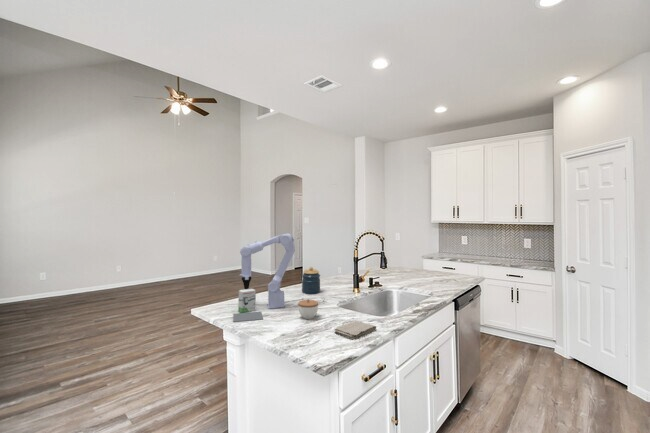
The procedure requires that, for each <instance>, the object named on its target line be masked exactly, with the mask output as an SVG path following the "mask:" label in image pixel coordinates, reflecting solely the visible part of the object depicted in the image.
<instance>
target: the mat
mask: <svg viewBox="0 0 650 433" xmlns="http://www.w3.org/2000/svg"><path fill="white" fill-rule="evenodd" d="M232 315H233V316H232V322H233V323H239V322H249V321H250V322H251V321H261V320H264V316H263V313H262V311H249V312H244V313H241V312H239V313H232Z"/></svg>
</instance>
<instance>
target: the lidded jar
mask: <svg viewBox="0 0 650 433" xmlns="http://www.w3.org/2000/svg"><path fill="white" fill-rule="evenodd" d="M297 305H298V307H297V308H298V312H299V315H300V316H301V317H302V318H303V319H306V320H310V319H311V320H312V319H314V318H315V316H317V314H318V310H319V302H318V301H317V300H314V299H310V298H309V299H303V300H300V301H298V303H297Z"/></svg>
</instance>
